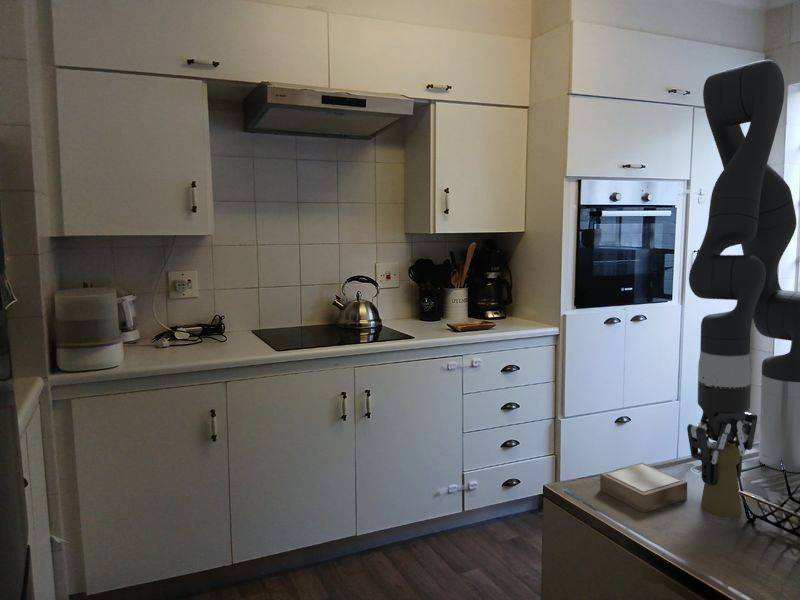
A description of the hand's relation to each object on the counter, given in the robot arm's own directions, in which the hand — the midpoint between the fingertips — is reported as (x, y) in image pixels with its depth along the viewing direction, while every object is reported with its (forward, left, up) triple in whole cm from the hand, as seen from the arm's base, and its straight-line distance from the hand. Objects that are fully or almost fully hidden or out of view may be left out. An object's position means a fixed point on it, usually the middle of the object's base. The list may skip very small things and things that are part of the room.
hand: (721, 479), depth 101 cm
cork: (0, 0, -5) cm, 5 cm away
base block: (+7, -10, -5) cm, 13 cm away
